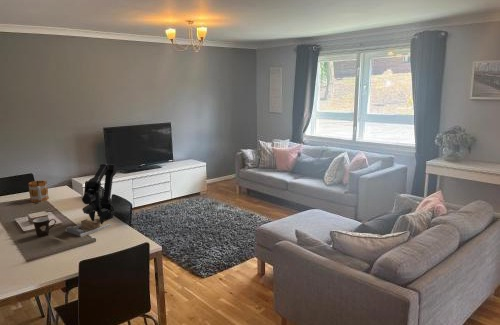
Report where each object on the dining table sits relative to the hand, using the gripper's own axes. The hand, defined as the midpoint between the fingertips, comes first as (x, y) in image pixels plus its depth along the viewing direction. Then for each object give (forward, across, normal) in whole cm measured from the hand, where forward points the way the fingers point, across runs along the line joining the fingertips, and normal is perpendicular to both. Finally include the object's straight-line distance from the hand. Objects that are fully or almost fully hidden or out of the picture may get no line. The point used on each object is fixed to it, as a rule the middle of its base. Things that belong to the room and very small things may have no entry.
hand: (97, 222), depth 241 cm
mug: (+3, -96, +14) cm, 97 cm away
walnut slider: (+2, 0, -5) cm, 5 cm away
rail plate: (+3, 0, -6) cm, 7 cm away
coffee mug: (+3, -17, -25) cm, 30 cm away
